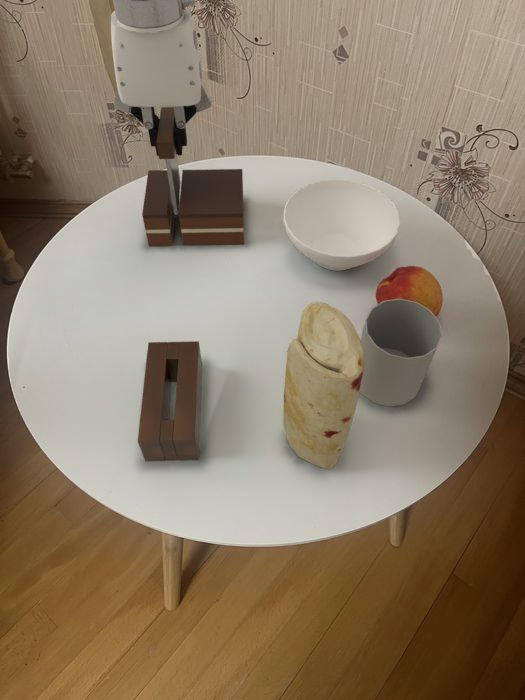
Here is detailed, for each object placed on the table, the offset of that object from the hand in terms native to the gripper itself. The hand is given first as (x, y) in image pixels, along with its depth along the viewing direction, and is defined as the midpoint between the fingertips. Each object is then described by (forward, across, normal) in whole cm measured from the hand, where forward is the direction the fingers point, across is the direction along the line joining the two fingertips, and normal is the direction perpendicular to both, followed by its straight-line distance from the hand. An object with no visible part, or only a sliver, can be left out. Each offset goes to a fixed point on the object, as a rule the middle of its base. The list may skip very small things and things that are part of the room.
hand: (170, 148), depth 77 cm
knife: (+8, 0, 0) cm, 8 cm away
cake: (+13, -5, +1) cm, 14 cm away
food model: (+13, -17, +38) cm, 43 cm away
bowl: (+13, -23, +8) cm, 28 cm away
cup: (+13, -27, +30) cm, 42 cm away
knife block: (+12, -1, +34) cm, 36 cm away
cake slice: (+13, +3, +1) cm, 13 cm away
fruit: (+13, -31, +20) cm, 39 cm away
